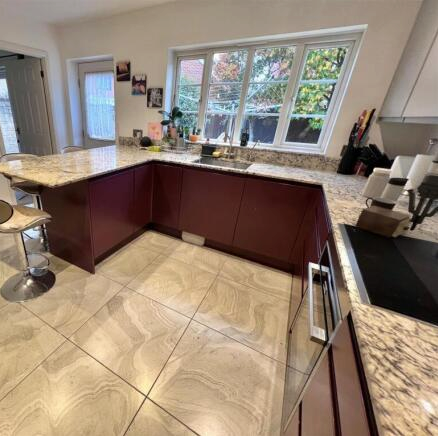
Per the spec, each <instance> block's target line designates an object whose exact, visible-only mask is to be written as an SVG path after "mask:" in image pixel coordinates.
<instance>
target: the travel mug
mask: <svg viewBox="0 0 438 436" xmlns="http://www.w3.org/2000/svg"><path fill="white" fill-rule="evenodd" d="M409 180H410V179H409V178H407V177H390V179H389V181H388V184H387V186H386V188H385V190H384V192H383V194H382V196H381V198H385V199H389V200H393V201H395V202H397V203H398V201H399V199H400V197H401V195H402V193H403V192H404V189H405V187H406V186H407V185H406V184H407V183H408V181H409ZM394 208H395V206H394V207H393V209H392V210H393V211H394Z"/></svg>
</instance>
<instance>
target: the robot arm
mask: <svg viewBox="0 0 438 436" xmlns="http://www.w3.org/2000/svg"><path fill="white" fill-rule="evenodd" d="M407 193H408V196H409V197H408V208H407V209H408V210H407V212H408V213H410V214H412V216H411V217H410V218H411V220H410V222H411V223H412V224H411V226H410V227H409V231H410V232H413V231H415V230H416V228H417V226H418V225H421V224H423V222H424V220H425V218H432V217H434V216H435V215H436V214H438V205H437V206H435V207H434V208H433V209H432V210H431V208H432V207H433V205H434V204H435V202H436V200H438V150H437V151H436V153H435V155H434V157H433V159H432V161H431V163H430V165H429V167H428V169H427V170H426V174H425V175H424V177H423V178H422V181H421V182H420V184H419V185H417V187H414V188H408V189H407ZM417 193H418V194H419V196H420V198H419V201H418V203H417V205H416V198H417V197H416V196H417ZM427 199H428V201H427ZM426 201H427V203H426ZM424 205H425V206H424ZM423 207H424V208H423ZM422 209H423V210H422Z"/></svg>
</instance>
